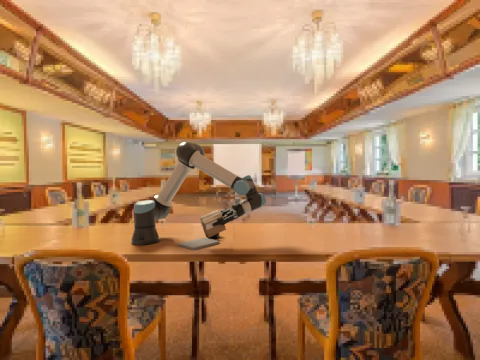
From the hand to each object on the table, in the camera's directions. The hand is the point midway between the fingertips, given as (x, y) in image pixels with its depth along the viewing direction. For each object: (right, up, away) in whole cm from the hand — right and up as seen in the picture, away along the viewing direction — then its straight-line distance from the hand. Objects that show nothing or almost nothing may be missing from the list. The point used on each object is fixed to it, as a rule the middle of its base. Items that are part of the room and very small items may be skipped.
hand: (203, 225), depth 150 cm
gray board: (-4, -12, +9) cm, 15 cm away
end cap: (+2, -11, +25) cm, 28 cm away
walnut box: (+6, -4, +4) cm, 8 cm away
